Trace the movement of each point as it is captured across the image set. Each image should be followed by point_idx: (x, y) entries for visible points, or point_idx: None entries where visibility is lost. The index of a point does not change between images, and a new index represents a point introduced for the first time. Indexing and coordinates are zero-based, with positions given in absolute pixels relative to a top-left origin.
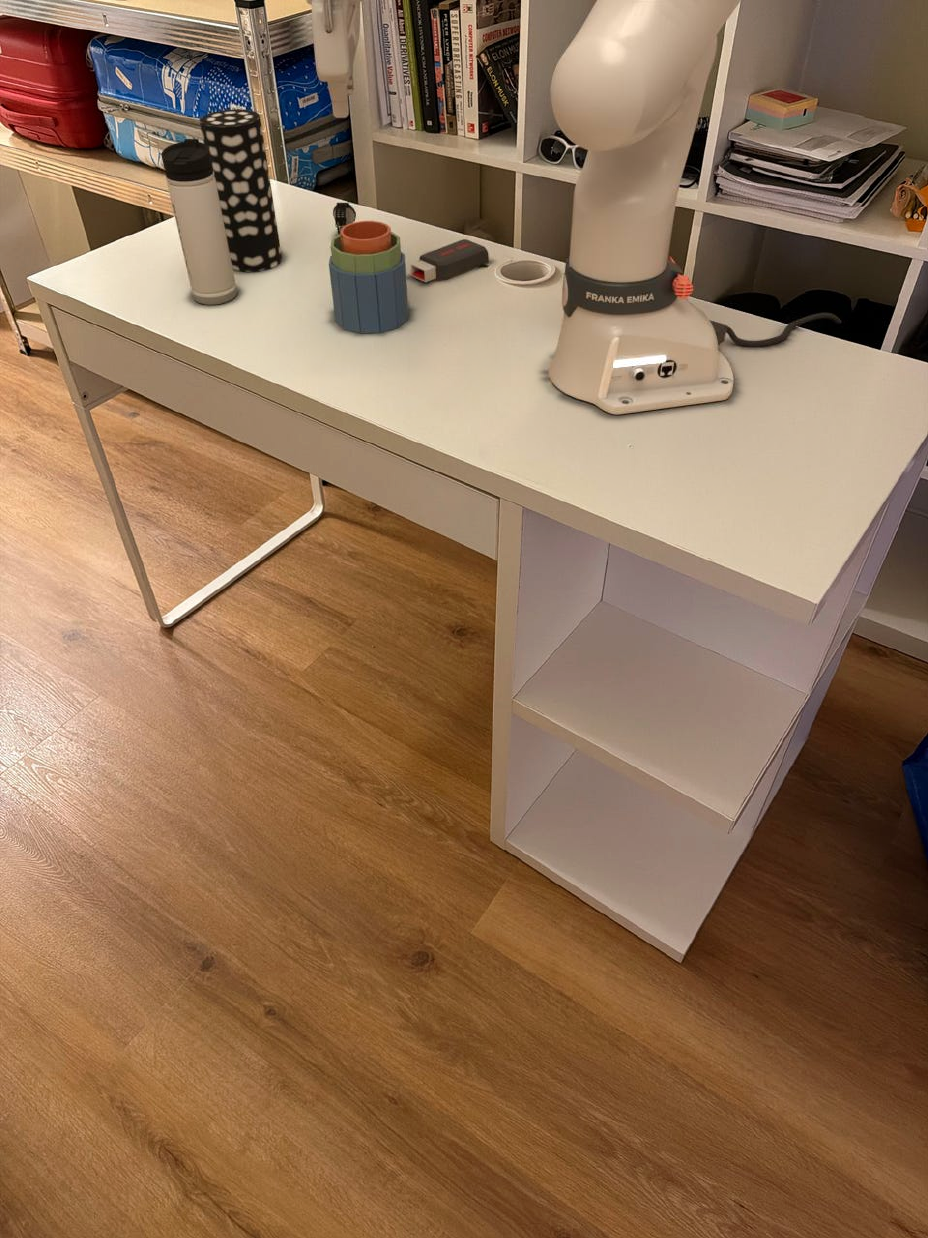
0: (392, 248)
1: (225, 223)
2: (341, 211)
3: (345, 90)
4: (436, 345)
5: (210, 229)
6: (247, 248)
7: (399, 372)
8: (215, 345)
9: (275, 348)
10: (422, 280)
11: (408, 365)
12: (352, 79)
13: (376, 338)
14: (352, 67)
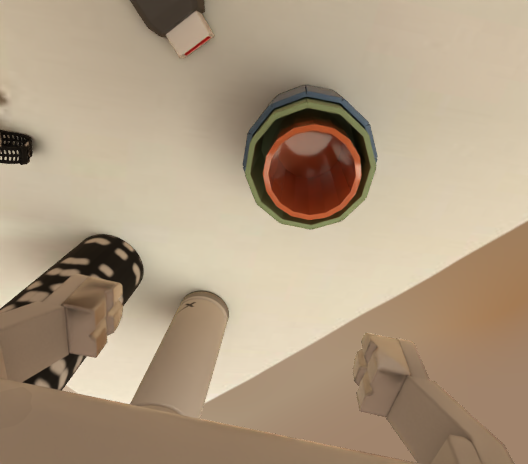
0: (358, 126)
1: None
2: (8, 154)
3: (483, 428)
4: (431, 59)
5: (206, 367)
6: (130, 287)
7: (485, 130)
8: (327, 318)
9: (356, 265)
10: (207, 40)
11: (472, 114)
12: (76, 302)
13: (375, 145)
14: (24, 321)
